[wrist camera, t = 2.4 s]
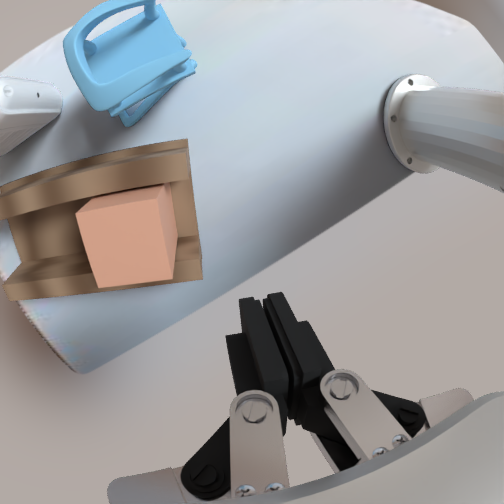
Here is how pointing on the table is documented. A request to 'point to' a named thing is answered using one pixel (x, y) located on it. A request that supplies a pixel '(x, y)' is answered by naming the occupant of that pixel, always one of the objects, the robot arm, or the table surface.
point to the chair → (127, 58)
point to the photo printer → (25, 109)
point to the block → (130, 235)
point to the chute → (73, 199)
